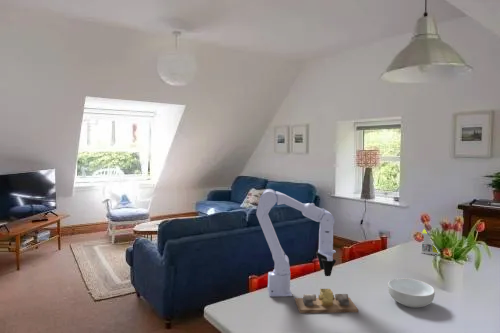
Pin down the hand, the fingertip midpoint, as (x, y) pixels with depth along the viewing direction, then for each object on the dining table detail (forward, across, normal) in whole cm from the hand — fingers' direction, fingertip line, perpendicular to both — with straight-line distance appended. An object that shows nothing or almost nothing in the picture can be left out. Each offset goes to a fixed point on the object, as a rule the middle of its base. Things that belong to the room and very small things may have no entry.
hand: (325, 272), depth 148 cm
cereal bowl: (+10, -9, -32) cm, 35 cm away
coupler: (+8, -11, +2) cm, 14 cm away
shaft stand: (+9, -11, +2) cm, 15 cm away
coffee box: (+10, +57, -79) cm, 98 cm away
